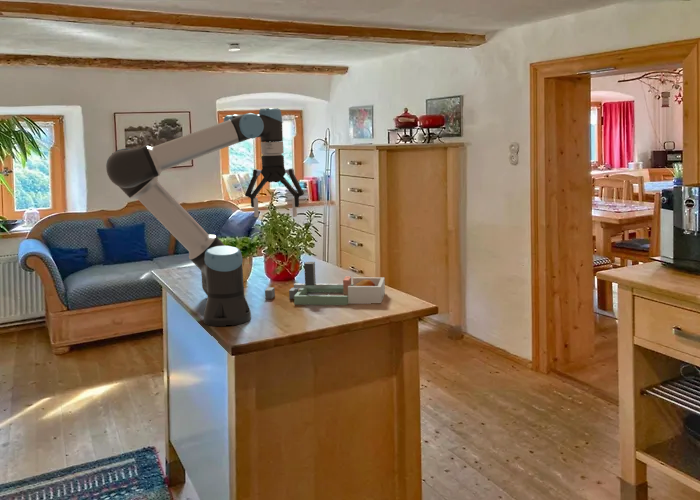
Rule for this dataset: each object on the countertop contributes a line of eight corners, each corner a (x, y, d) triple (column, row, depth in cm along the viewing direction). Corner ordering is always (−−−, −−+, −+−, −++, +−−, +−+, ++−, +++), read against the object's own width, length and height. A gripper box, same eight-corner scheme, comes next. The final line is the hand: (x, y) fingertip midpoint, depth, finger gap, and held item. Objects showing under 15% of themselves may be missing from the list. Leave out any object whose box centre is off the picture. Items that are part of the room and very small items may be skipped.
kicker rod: (292, 298, 230) (291, 264, 227) (296, 294, 235) (295, 261, 233) (349, 298, 227) (348, 264, 224) (351, 294, 232) (350, 261, 230)
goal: (348, 303, 223) (347, 286, 221) (353, 293, 237) (353, 277, 235) (381, 303, 221) (380, 287, 220) (384, 293, 235) (384, 277, 234)
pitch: (260, 304, 225) (259, 295, 224) (273, 291, 243) (273, 282, 242) (347, 305, 221) (347, 296, 220) (354, 291, 238) (354, 283, 238)
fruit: (377, 298, 223) (365, 278, 223) (359, 308, 225) (347, 289, 225) (383, 292, 230) (371, 273, 230) (365, 302, 233) (354, 283, 233)
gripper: (233, 156, 215) (237, 218, 219) (306, 154, 211) (308, 217, 215) (240, 155, 222) (244, 215, 226) (310, 153, 219) (313, 214, 223)
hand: (275, 216), depth 221 cm, fingers open, 13 cm apart
